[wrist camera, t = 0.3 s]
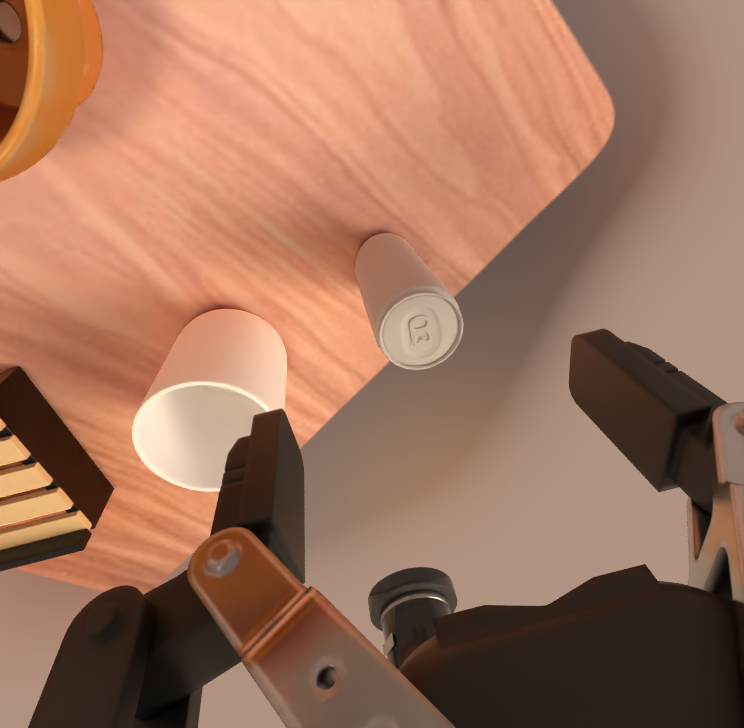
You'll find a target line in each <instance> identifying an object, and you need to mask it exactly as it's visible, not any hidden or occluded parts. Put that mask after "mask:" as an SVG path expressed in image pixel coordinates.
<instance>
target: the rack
mask: <svg viewBox="0 0 744 728" xmlns="http://www.w3.org/2000/svg"><path fill="white" fill-rule="evenodd" d="M18 461H21V462H22V463H23V464H24V465H20V466H16V467H12V468H8V469H4V470H0V498H1V497H5V496H9V495H13V494H17V493H21V492H25V491H29V490H33V489H36V488H40V487H44V488H45V489H46V490H42V491H38V492H34V493H30V494H26V495H22V496H18V497H14V498H10V499H6V500H2V501H0V527H1V526H5V525H8V524H12V523H16V522H20V521H24V520H28V519H32V518H36V517H40V516H44V515H48V514H52V513H56V512H60V511H64V510H65V511H66V513H62V514H58V515H54V516H50V517H47V518H43V519H39V520H35V521H31V522H27V523H23V524H19V525H15V526H11V527H7V528H3V529H0V571H4V570H7V569H11V568H15V567H19V566H23V565H27V564H31V563H35V562H39V561H43V560H47V559H51V558H55V557H59V556H62V555H66V554H70V553H74V552H78V551H82V550H84V549H85V547H86V545H87V543H88V541H89V539H90V537H91V535H92V533H91V532H90V531H89V530H90V529H94V528H95V526H96V524H97V522H98V520H99V518H100V516H101V514H102V512H103V510H104V508H105V506H106V504H107V502H108V500H109V498H110V496H111V494H112V492H113V490H114V488H113V487H112V485H111V484H110V483H109V481H108V480H107V479H106V478H105V476H104V475H103V474H102V472H101V471H100V470H99V468H98V467H97V466H96V465H95V463H94V462H93V461H92V459H91V458H90V457H89V456H88V454H87V453H86V452H85V450H84V449H83V448H82V446H81V445H80V444H79V443H78V441H77V440H76V439H75V437H74V436H73V435H72V434H71V432H70V431H69V430H68V428H67V427H66V426H65V424H64V423H63V422H62V421H61V419H60V418H59V417H58V415H57V414H56V413H55V412H54V410H53V409H52V408H51V406H50V405H49V404H48V402H47V401H46V400H45V399H44V397H43V396H42V395H41V393H40V392H39V391H38V390H37V388H36V387H35V386H34V384H33V383H32V382H31V380H30V379H29V378H28V377H27V375H26V374H25V373H24V371H23V370H22V369H21V368H20V367H16V368H12V369H8V370H6V371H5V372H4V373H3V374H2V375H1V376H0V466H2V465H6V464H10V463H14V462H18Z"/></svg>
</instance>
